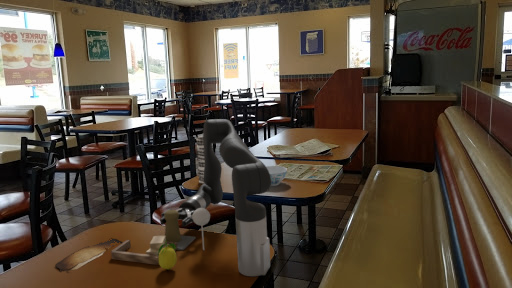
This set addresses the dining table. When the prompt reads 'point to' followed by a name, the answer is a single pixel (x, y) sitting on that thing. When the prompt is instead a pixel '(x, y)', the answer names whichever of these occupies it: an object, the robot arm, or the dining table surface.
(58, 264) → the parchment
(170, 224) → the cork
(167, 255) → the lemon
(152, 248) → the offcut upper
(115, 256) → the frame
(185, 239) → the pad
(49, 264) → the dining table surface
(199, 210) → the lollipop
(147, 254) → the offcut lower
